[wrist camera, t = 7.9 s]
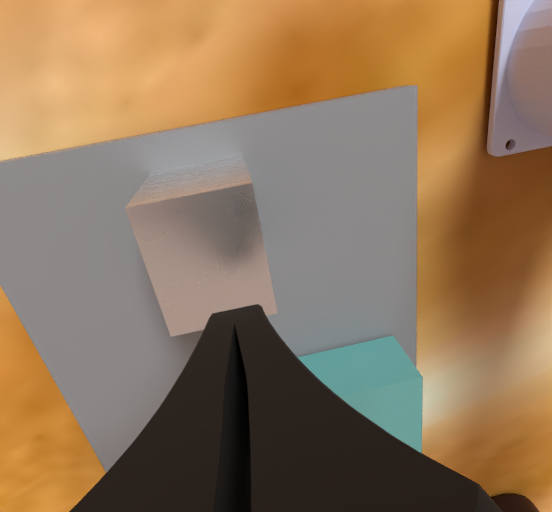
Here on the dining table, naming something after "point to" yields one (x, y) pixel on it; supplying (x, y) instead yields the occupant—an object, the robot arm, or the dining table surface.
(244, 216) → the pinkish grey block
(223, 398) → the robot arm
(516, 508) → the vinegar
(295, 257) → the base plate
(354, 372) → the housing
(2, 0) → the dining table surface
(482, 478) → the dining table surface
